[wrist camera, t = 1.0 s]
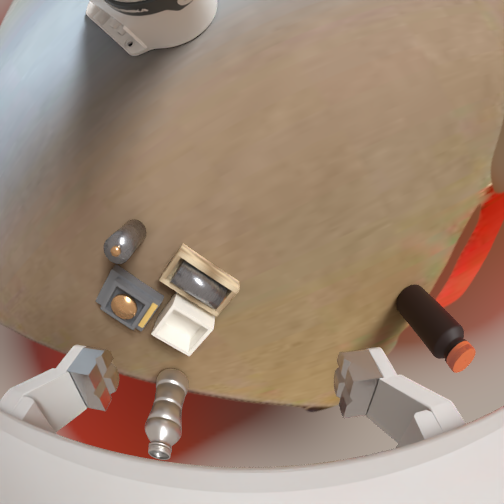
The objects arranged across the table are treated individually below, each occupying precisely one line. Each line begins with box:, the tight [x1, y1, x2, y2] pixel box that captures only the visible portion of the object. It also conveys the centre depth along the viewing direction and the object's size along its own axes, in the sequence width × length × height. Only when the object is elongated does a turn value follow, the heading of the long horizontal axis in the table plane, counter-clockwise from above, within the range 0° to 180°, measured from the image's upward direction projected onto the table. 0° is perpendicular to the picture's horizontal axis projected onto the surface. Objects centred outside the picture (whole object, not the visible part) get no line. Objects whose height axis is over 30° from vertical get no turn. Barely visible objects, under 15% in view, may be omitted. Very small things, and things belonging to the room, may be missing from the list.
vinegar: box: [397, 285, 475, 372], centre depth 42 cm, size 7×7×20 cm
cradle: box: [96, 264, 164, 332], centre depth 46 cm, size 10×8×4 cm
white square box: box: [151, 292, 215, 356], centre depth 47 cm, size 8×8×5 cm
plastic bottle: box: [145, 368, 189, 460], centre depth 46 cm, size 6×7×20 cm
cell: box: [104, 220, 146, 264], centre depth 39 cm, size 4×4×9 cm
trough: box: [159, 244, 239, 317], centre depth 46 cm, size 11×6×3 cm, turn 52°
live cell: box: [170, 260, 227, 309], centre depth 44 cm, size 9×4×4 cm, turn 52°
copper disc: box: [111, 294, 138, 319], centre depth 44 cm, size 5×5×1 cm
